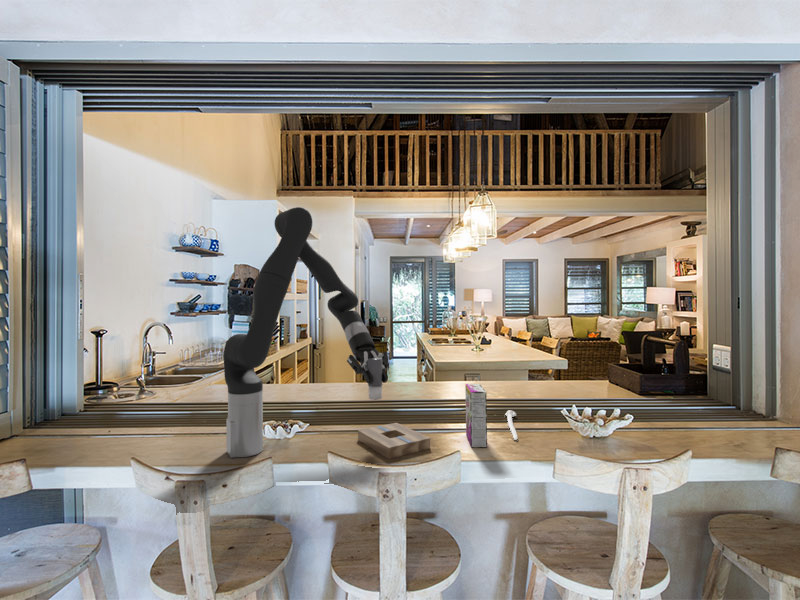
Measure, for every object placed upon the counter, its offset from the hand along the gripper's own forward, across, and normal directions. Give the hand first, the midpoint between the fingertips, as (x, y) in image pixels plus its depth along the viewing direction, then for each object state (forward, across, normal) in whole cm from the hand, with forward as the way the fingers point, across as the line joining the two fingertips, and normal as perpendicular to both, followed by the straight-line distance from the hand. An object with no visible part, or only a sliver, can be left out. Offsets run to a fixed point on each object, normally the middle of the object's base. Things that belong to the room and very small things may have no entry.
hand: (378, 381), depth 124 cm
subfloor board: (+16, +2, +10) cm, 19 cm away
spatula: (+23, +44, +4) cm, 50 cm away
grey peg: (+2, 0, +5) cm, 6 cm away
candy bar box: (+25, +24, +1) cm, 35 cm away
